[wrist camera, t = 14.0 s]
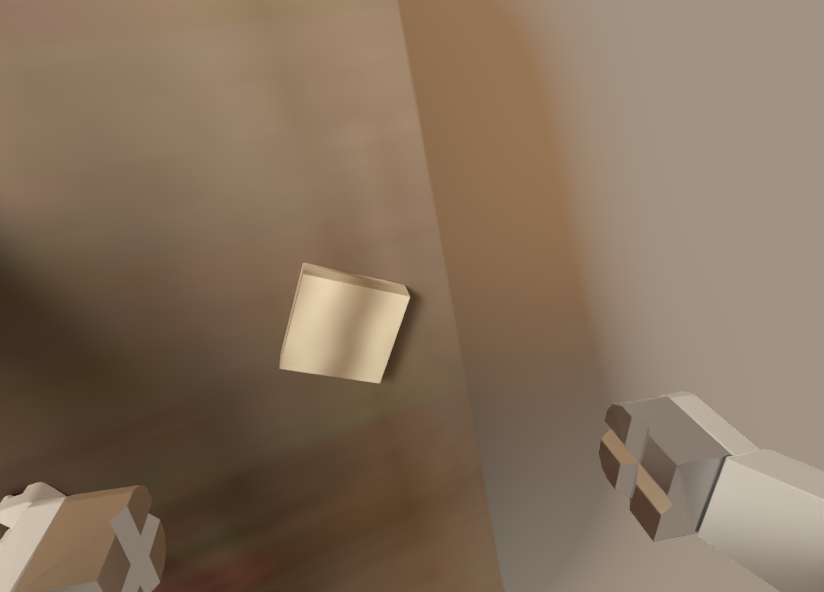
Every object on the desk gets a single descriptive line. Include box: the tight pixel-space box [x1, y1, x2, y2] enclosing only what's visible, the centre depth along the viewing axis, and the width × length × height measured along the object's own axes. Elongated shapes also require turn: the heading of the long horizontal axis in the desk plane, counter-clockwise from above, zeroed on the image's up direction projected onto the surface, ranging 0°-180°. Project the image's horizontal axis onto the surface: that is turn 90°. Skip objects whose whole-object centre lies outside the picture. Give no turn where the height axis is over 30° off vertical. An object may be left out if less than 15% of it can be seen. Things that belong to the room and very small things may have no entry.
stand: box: [279, 262, 410, 383], centre depth 41 cm, size 9×9×2 cm
